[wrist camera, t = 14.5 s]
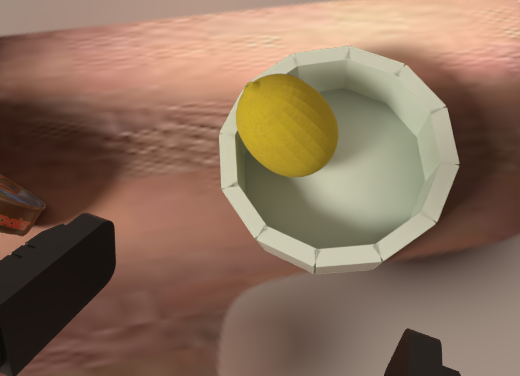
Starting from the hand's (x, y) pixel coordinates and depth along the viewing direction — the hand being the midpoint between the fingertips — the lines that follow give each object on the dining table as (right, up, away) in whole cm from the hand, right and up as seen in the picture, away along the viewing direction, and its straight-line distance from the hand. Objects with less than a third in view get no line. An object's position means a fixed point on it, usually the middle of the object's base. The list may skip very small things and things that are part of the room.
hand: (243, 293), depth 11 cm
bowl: (+5, +4, +19) cm, 20 cm away
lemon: (+5, +4, +17) cm, 18 cm away
